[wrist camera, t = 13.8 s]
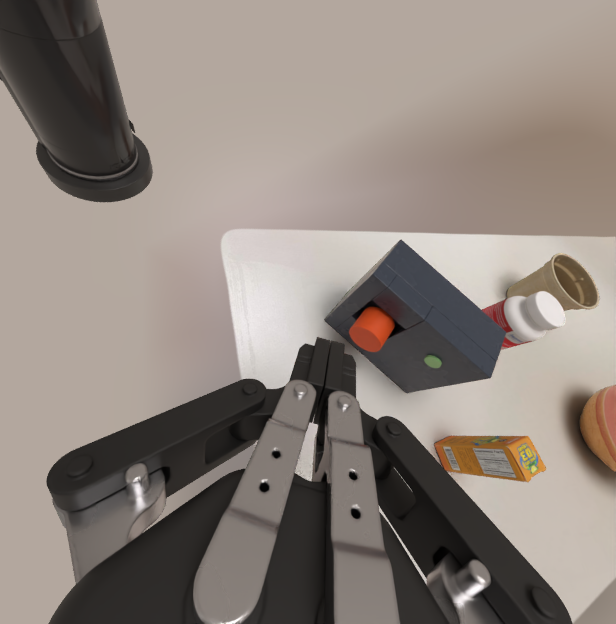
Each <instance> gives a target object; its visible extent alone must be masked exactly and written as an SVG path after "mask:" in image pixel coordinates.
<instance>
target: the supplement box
mask: <svg viewBox="0 0 616 624" xmlns="http://www.w3.org/2000/svg"><path fill="white" fill-rule="evenodd" d="M434 445H435V448H436V450H437V453H438V455H439V458H440V460H441V462H442V465H443V467H444V469H445V470H446V471H450V472H457V473H464V474H471V475H478V476H486V477H493V478H501V479H508V480H516V481H522V482H525V481H526V482H529V481H530V480H531V478H532V477H533V476H535V475H536V474H538V473H539V472H543V471H545V470H546V467H545V465H544V464H543V462H542V460H541V458H540V456H539V454H538V452H537V450H536V448H535V447H534V445H533V443H532V441H531V440H530V438H529V437H528V436H449V437H447V438H445V439H443V440H441V441H439V442H437V443H435V444H434Z"/></svg>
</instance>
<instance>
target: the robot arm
mask: <svg viewBox="0 0 616 624" xmlns="http://www.w3.org/2000/svg"><path fill="white" fill-rule="evenodd" d="M0 79H1V80H2V81H3V82H4V84H5V86H6V87H7V89H8V91H9V92H10V94H11V95H12V97H13V99H14V100H15V102H16V104H17V106H18V107H19V109H20V111H21V112H22V114H23V116H24V117H25V119H26V120H27V122H28V124H29V125H30V127H31V129H32V131H33V132H34V134H35V136H36V137H37V139H38V141H39V142H40V144H41V146H42V147H43V148H45V149H46V150H47V152H48V154H49V156H50V157H51V159H52V161H53V162H54V164H55V165H56V166H57V167H58V168H59V169H61V170H62V171H63V172H65V173H67V174H69V175H71V176H73V177H76V178H79V179H82V180H87V181H93V182H107V181H113V180H117V179H121V178H123V177H125V176H127V175H129V174H130V173H131V172H132V171H134V169H135V168H136V166H137V164H138V161H139V155H138V150H137V147H136V145H135V143H134V139H133V135H132V131H133V132H134V133H135V130H134V126H133V124H132V123H131V121H130V120H129V119H128V116H127V112H126V108H125V105H124V101H123V97H122V93H121V90H120V86H119V83H118V79H117V75H116V71H115V67H114V63H113V60H112V56H111V52H110V48H109V45H108V41H107V37H106V33H105V30H104V26H103V22H102V19H101V15H100V12H99V8H98V4H97V0H0ZM131 129H132V131H131ZM314 415H315V416H314ZM313 418H314V422H313V423H314V424H318V431H317V434H316V437H315V442H314V457H313V472H312V482H311V481H307V480H306V479H304V478H302V477H300V476H299V475H297V474H295V469H296V465H297V462H298V458H299V455H300V451H301V448H302V444H303V441H304V437H305V434H306V431H307V428H308V425H309V422H311V423H312V421H313ZM257 440H259V441H258V443H257V445H256V447H255V450H254V452H253V454H252V456H251V458H250V461H249V463H248V465H247V467H246V469H241V470H237V471H234V472H232V473H229V474H227V475H226V476H223V477H222V478H220V479H219V480H218V481H216V482H215V483H213V484H212V485H210V486H209V487H208V488H206V489H205V490H203V491H202V492H201V493H199V494H198V495H196V496H195V497H193V498H192V499H190V500H189V501H188V502H186V503H185V504H183V505H182V506H180V507H179V508H178V509H176V510H175V511H173V512H172V513H171V514H169V515H168V516H166V517H165V518H163V519H162V520H161V521H159V522H158V523H156V524H155V525H153V526H152V527H151V528H150V529H148V530H146V531H145V532H144V533H143V531H144V530H145V529H146V528H147V527H148V526H150V525H151V524H152V523H153V522H155V521H156V520H157V518H158V517H159V516H160V515H161V513H162V512H163V510H164V507H165V504H166V498H167V497H169V496H170V495H172V494H174V493H175V492H177V491H178V490H180V489H182V488H183V487H185V486H186V485H188V484H190V483H191V482H193V481H195V480H196V479H198V478H199V477H201V476H203V475H204V474H206V473H207V472H209V471H211V470H212V469H214V468H215V467H217V466H219V465H220V464H222V463H224V462H225V461H227V460H229V459H230V458H232V457H233V456H235V455H237V454H238V453H240V452H241V451H243V450H245V449H246V448H248V447H250V446H251V445H253V444H254V443H255V442H256V441H257ZM394 468H395V469H396V470H397V471H398V473H399V474H400V475H401V476H400V475H399V474H398V473H397V471H396V470H395V469H394ZM401 477H402V478H403V479H404V480H403V479H402V478H401ZM404 481H405V482H406V483H407V484H406V483H405V482H404ZM407 485H408V486H409V487H410V488H411V490H412V491H413V492H412V491H411V490H410V488H409V487H408V486H407ZM47 486H48V489H49V491H50V493H51V495H52V497H53V505H54V507H55V509H56V511H57V514H58V516H59V518H60V520H61V522H62V524H63V526H64V527H65V528H66V530H67V536H68V541H69V546H70V552H71V558H72V564H73V570H74V576H75V581H76V585H75V586H74V587H73V588H72V590H71V591H70V592H69V593H68V594H67V596H66V597H65V598H64V600H63V601H62V602H61V604H60V605H59V607H58V609H57V610H56V612H55V613H54V615H53V616H52V618H51V620H50V622H49V624H572V621H571V618H570V615H569V613H568V611H567V609H566V607H565V605H564V604H563V602H562V601H561V599H560V598H559V596H558V595H557V594H556V592H555V591H554V590H553V589H552V588H551V587H550V586H549V584H548V583H547V582H546V581H545V580H544V579H543V578H542V577H541V576H540V574H539V573H538V572H537V571H536V570H535V569H534V568H533V567H532V566H531V565H530V563H529V562H528V561H527V560H526V559H525V558H524V557H523V556H522V555H521V553H520V552H519V551H518V550H517V549H516V548H515V547H514V546H513V545H512V544H511V542H510V541H509V540H508V539H507V538H506V537H505V536H504V535H503V534H502V532H501V531H500V530H499V529H498V528H497V527H496V526H495V525H494V524H493V522H492V521H491V520H490V519H489V518H488V517H487V516H486V515H485V514H484V513H483V511H482V510H481V509H480V508H479V507H478V506H477V505H476V504H475V503H474V501H473V500H472V499H471V498H470V497H469V496H468V495H467V494H466V493H465V491H464V490H463V489H462V488H461V487H460V486H459V485H458V484H457V483H456V482H455V480H454V479H453V478H452V477H451V476H450V475H449V474H448V473H447V472H446V470H445V469H444V468H443V467H442V466H441V465H440V464H439V463H438V462H437V461H436V459H435V458H434V457H433V456H432V455H431V454H430V453H429V452H428V451H427V449H426V448H425V447H424V446H423V445H422V444H421V443H420V442H419V441H418V439H417V438H416V437H415V436H414V435H413V434H412V433H411V432H410V431H409V430H408V428H407V427H406V426H405V425H404V424H403V423H402V422H400V421H399V420H397V419H395V418H393V417H389V416H384V417H381V418H379V419H378V420H377V419H375V418H373V417H371V416H369V415H368V414H366V413H365V412H364V411H363V410H362V409H361V408H360V405H359V402H358V401H357V399H356V363H355V361H354V359H353V357H352V356H351V355H347V354H344V344H342V343H338V342H334V341H331V342H330V340H326V339H323V338H319V337H317V339H316V343H315V346H313V345H309V344H304V345H303V346H302V347H301V348H300V349H299V352H298V356H297V359H296V362H295V365H294V368H293V371H292V374H291V378H290V381H289V382H288V383H287V384H286V386H284V387H282V388H279V389H266V387H265V386H264V384H263V383H261V382H260V381H258V380H255V379H243V380H240V381H238V382H235V383H233V384H231V385H228V386H226V387H223V388H221V389H219V390H216V391H214V392H212V393H209V394H207V395H204V396H202V397H199V398H197V399H195V400H192V401H190V402H188V403H185V404H183V405H180V406H178V407H176V408H173V409H171V410H168V411H166V412H164V413H161V414H159V415H156V416H154V417H152V418H149V419H147V420H145V421H142V422H140V423H137V424H135V425H132V426H130V427H128V428H126V429H123V430H121V431H118V432H116V433H113V434H111V435H109V436H106V437H104V438H101V439H99V440H97V441H94V442H92V443H89V444H87V445H85V446H82V447H80V448H78V449H75V450H73V451H71V452H69V453H68V454H66V455H65V456H63V457H62V458H61V459H59V460H58V461H57V462H56V463H55V464H54V465H53V467H52V468H51V470H50V471H49V473H48V476H47ZM378 505H379V506H380V508H381V509H382V511H383V512H384V514H385V515H386V517H387V519H388V520H389V522H390V523H391V525H392V526H393V528H394V529H395V531H396V532H397V534H398V535H399V537H400V538H401V540H402V542H403V543H404V545H405V546H406V548H407V549H408V551H409V552H410V554H411V555H412V557H413V558H414V560H415V562H416V563H417V565H418V566H419V568H420V569H421V571H422V572H423V574H424V575H425V577H426V578H427V585H426V583H425V582H424V580H423V579H422V577H421V575H420V574H419V572H418V570H417V569H416V567H415V565H414V564H413V562H412V561H411V559H410V557H409V556H408V554H407V552H406V551H405V549H404V547H403V546H402V544H401V543H400V541H399V539H398V538H397V536H396V534H395V533H394V531H393V529H392V528H391V526H390V525H389V523H388V522H387V521H386V519H385V518H384V517H383V515H382V514H381V513H380V512H379V506H378Z"/></svg>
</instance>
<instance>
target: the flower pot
mask: <svg viewBox="0 0 616 624" xmlns="http://www.w3.org/2000/svg"><path fill="white" fill-rule="evenodd" d="M540 291H545V292H548V293H549V294H551V295H552V296H554V297H555V298H556V299H557V301H558V302H559V303H560V305H561V306H562V308H563V310H564V311H565V310H570V309H576V310H577V309H593V308H595V307H597V305H598V304H599V293H598V289H597V287H596V284H595V282H594V280H593V278H592V277H591V275H590V274H589V272H588V271H587V270H586V269H585V268H584V267H583V266H582V265H581V264H580V263H579V262H578V261H577V260H575V259H574V258H572V257H571V256H569V255H566V254H563V253H559V254H556V255H554V256H553V257H552V258H551V260H550V261H549V262H547V263H546V264H545V265H544V266H543V267H542V268H540V269H538V270H537V271H535V272H534V273H532V274H530V275H529V276H527V277H526V278H524V279H522V280H521V281H519V282H518V283H516V284H514V285H513V286H511V287H510V288H509V289H508V291H507V298H510V297H513V296H524V297H528V296H530V295H532V294H534V293H537V292H540Z"/></svg>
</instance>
